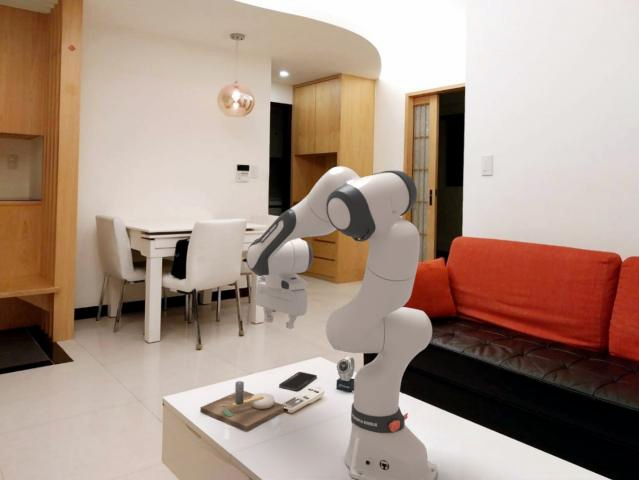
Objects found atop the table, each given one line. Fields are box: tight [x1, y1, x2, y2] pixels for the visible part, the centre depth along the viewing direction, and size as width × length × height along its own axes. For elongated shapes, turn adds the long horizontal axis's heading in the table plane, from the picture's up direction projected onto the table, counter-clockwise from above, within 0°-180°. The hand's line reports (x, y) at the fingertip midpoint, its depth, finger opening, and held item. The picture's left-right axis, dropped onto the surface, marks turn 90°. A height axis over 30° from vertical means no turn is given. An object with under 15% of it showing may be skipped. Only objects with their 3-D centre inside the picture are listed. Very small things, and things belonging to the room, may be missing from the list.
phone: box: [278, 371, 318, 393], centre depth 171 cm, size 8×1×15 cm
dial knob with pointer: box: [232, 380, 275, 409], centre depth 146 cm, size 14×7×8 cm, turn 129°
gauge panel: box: [200, 390, 287, 433], centre depth 147 cm, size 19×17×2 cm
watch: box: [335, 355, 356, 393], centre depth 166 cm, size 6×8×11 cm
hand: (279, 325), depth 148 cm, fingers open, 8 cm apart
